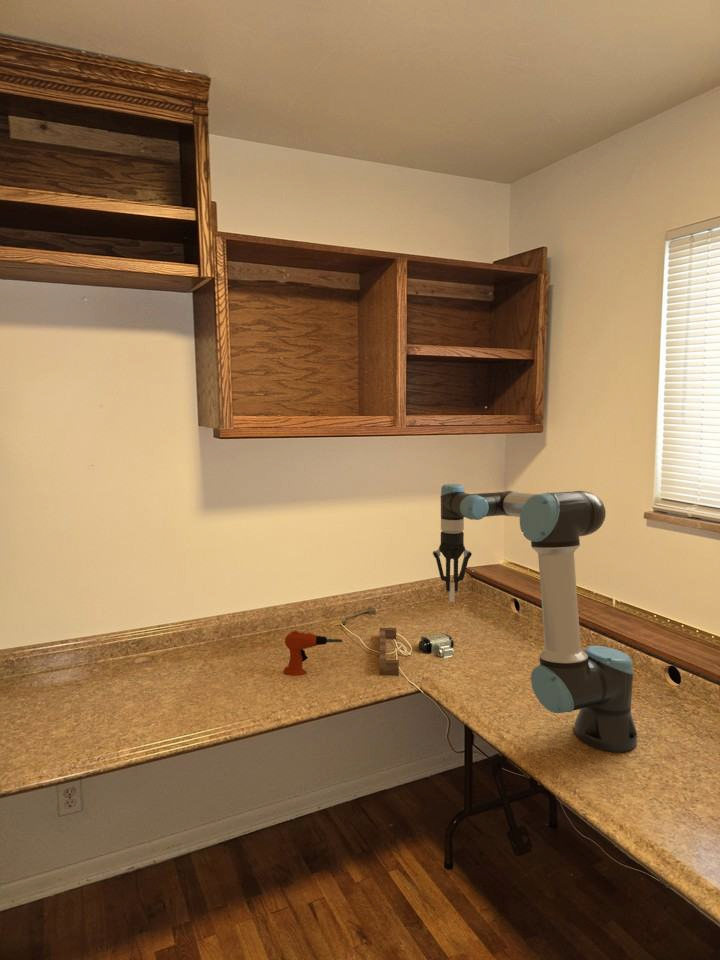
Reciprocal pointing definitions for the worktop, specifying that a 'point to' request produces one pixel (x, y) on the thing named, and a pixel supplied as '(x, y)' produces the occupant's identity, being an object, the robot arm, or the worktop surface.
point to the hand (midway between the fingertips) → (451, 600)
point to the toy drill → (301, 650)
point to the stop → (385, 665)
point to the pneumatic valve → (437, 645)
